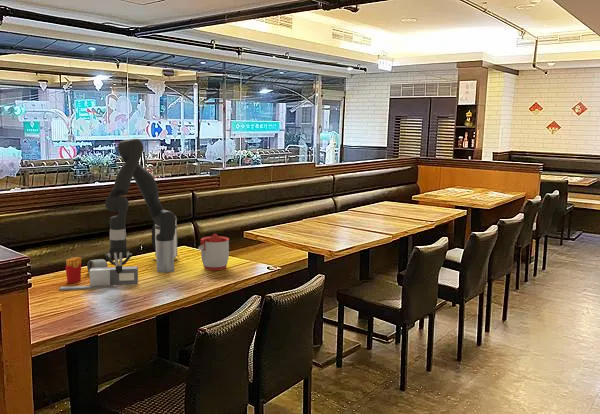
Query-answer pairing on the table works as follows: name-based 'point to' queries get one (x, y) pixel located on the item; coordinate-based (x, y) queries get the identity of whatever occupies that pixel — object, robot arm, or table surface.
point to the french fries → (73, 269)
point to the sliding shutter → (100, 277)
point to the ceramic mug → (96, 264)
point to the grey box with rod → (112, 278)
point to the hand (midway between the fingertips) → (119, 273)
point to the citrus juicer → (214, 252)
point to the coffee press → (157, 230)
